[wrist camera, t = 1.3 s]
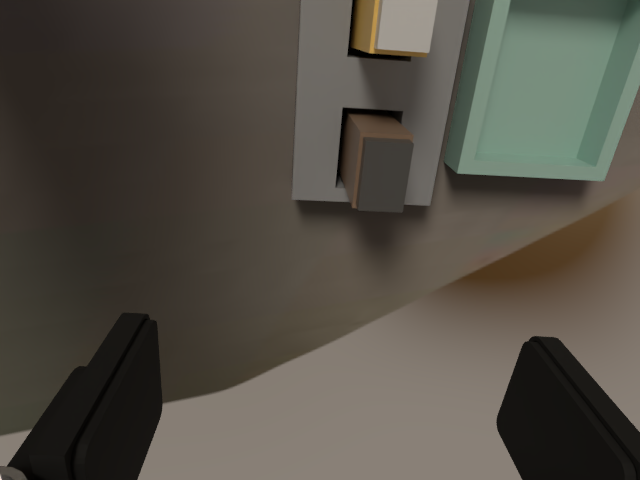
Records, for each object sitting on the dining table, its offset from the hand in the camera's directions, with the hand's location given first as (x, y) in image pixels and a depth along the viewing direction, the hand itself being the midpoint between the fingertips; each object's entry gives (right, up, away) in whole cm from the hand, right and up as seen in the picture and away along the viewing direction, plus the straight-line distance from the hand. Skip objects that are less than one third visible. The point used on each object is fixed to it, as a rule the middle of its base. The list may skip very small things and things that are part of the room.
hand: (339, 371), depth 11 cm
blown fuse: (+3, +11, +21) cm, 24 cm away
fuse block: (+3, +14, +19) cm, 24 cm away
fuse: (+3, +18, +17) cm, 26 cm away
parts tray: (+15, +15, +20) cm, 29 cm away
